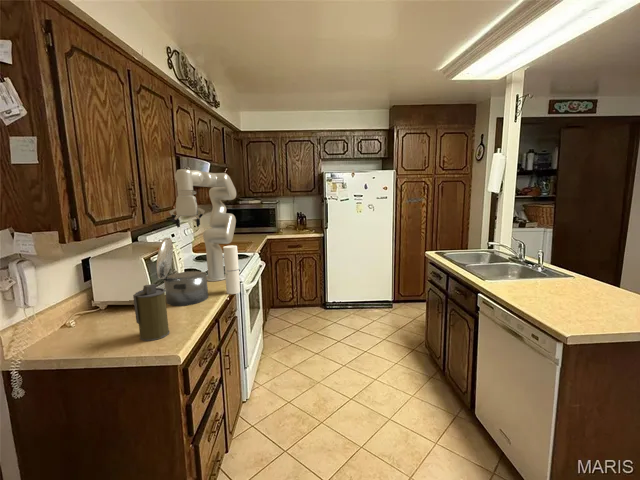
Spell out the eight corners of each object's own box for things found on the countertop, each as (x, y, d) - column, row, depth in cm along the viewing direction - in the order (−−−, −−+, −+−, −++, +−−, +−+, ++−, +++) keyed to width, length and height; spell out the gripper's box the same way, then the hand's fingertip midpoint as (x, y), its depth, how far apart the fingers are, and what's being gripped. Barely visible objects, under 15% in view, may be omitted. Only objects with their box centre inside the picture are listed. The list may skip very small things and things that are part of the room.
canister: (161, 327, 136) (156, 279, 133) (174, 333, 130) (169, 284, 127) (133, 336, 128) (127, 286, 125) (145, 344, 122) (139, 291, 118)
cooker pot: (174, 293, 181) (172, 271, 179) (212, 290, 184) (210, 269, 182) (159, 309, 157) (156, 284, 155) (202, 305, 160) (200, 281, 158)
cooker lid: (171, 273, 177) (165, 272, 177) (174, 235, 175) (168, 234, 174) (157, 284, 157) (151, 283, 157) (161, 241, 154) (154, 240, 154)
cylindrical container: (236, 294, 176) (233, 247, 172) (224, 293, 177) (220, 247, 173) (242, 290, 183) (239, 245, 179) (230, 289, 184) (227, 245, 180)
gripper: (204, 193, 177) (206, 225, 179) (169, 194, 174) (172, 226, 176) (201, 193, 170) (204, 226, 172) (165, 194, 167) (168, 228, 169)
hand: (188, 226), depth 174 cm, fingers open, 9 cm apart
